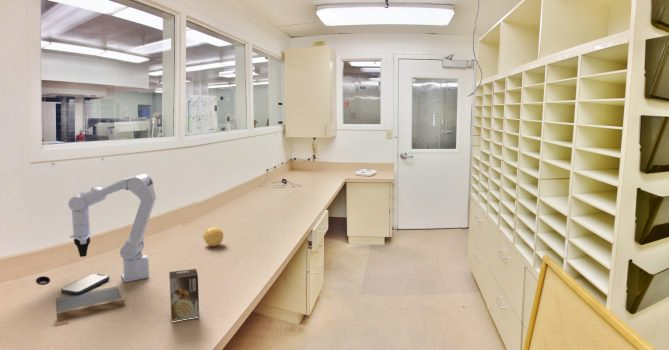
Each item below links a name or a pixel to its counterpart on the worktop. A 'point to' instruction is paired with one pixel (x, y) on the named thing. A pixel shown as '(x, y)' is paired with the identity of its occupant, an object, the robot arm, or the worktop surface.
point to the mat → (87, 298)
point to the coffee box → (184, 294)
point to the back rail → (90, 308)
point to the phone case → (85, 284)
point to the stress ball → (213, 236)
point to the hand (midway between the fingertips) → (83, 255)
